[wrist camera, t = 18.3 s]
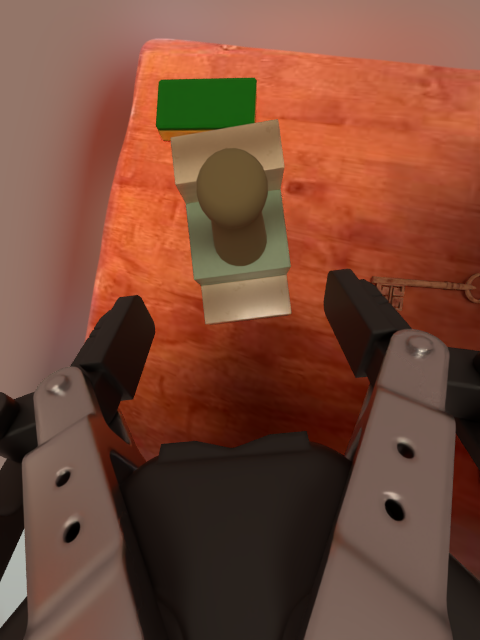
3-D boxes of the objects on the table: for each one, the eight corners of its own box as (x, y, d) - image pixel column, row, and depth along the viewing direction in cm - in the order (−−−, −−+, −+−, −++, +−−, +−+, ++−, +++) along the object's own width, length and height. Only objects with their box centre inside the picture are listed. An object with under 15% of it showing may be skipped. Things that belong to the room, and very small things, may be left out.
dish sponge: (254, 141, 34) (254, 126, 31) (162, 141, 35) (155, 127, 32) (256, 94, 34) (256, 76, 32) (165, 96, 35) (158, 78, 32)
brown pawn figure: (204, 252, 26) (168, 196, 15) (228, 205, 26) (209, 116, 15) (252, 275, 26) (250, 234, 15) (276, 227, 26) (292, 151, 15)
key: (367, 307, 32) (483, 318, 31) (370, 307, 31) (490, 318, 30) (372, 265, 32) (489, 274, 30) (376, 264, 31) (497, 273, 30)
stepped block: (287, 315, 32) (303, 308, 22) (210, 324, 33) (189, 322, 22) (270, 185, 33) (278, 118, 23) (196, 196, 34) (170, 137, 23)
